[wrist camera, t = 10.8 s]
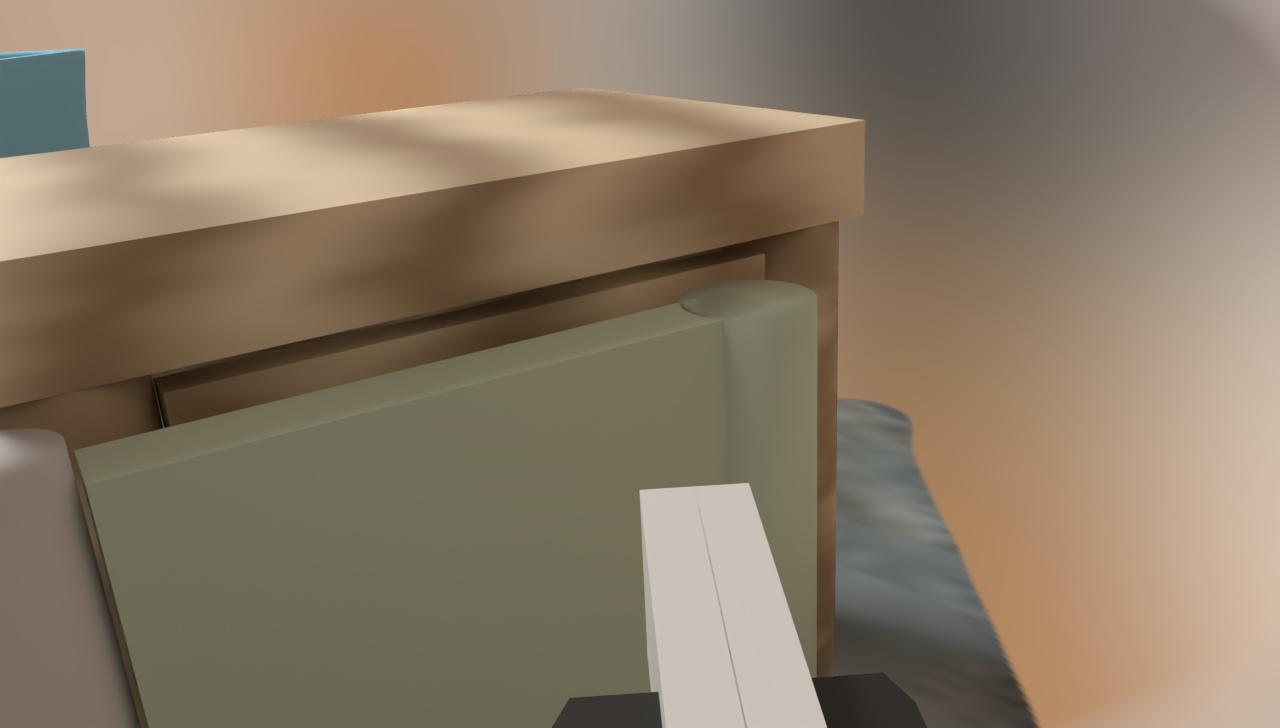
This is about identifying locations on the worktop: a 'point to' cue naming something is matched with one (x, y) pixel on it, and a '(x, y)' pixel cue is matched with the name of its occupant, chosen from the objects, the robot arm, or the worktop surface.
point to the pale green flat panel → (406, 530)
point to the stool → (400, 255)
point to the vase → (42, 102)
